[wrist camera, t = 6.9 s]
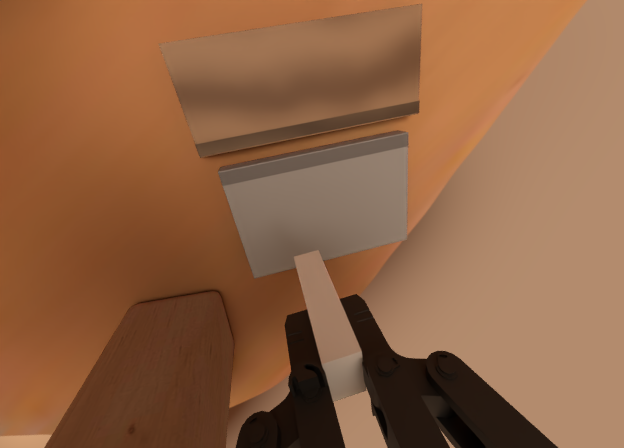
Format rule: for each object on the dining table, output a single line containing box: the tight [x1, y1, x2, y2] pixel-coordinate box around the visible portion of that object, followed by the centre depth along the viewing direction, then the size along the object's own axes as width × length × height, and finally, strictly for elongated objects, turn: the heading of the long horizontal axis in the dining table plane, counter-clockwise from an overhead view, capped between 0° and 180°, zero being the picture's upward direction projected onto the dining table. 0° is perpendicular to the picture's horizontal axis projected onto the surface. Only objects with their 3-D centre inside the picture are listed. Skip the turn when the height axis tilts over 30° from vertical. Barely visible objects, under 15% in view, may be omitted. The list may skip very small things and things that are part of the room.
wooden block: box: [45, 291, 234, 448], centre depth 22 cm, size 10×10×20 cm
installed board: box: [159, 4, 422, 158], centre depth 21 cm, size 8×20×2 cm, turn 99°
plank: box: [218, 130, 408, 279], centre depth 26 cm, size 12×18×2 cm, turn 99°
